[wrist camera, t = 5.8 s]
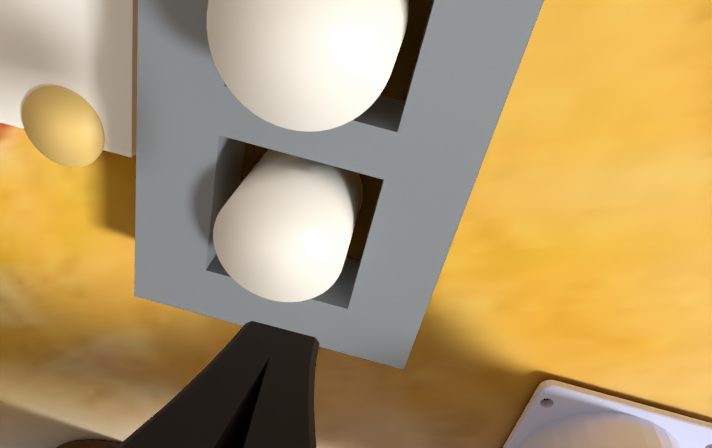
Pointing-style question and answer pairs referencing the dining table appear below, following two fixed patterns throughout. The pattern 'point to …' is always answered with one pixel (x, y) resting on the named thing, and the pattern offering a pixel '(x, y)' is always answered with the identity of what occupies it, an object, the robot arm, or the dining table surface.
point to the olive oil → (89, 444)
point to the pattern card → (71, 76)
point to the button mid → (306, 56)
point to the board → (332, 147)
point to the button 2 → (288, 227)
